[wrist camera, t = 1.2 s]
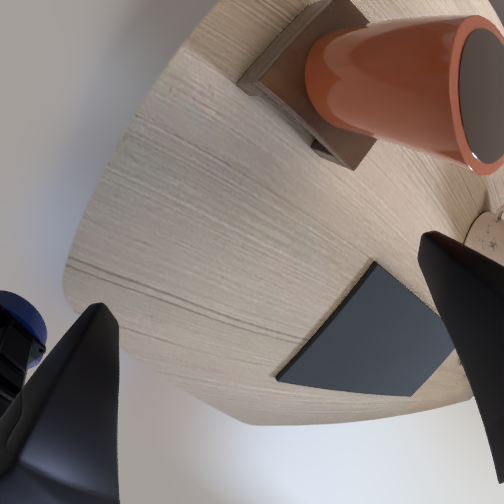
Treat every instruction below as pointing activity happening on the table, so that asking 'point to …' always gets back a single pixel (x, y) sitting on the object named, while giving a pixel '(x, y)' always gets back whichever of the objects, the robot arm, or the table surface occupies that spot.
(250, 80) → the brown square slab
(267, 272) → the table surface
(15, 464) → the robot arm
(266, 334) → the table surface
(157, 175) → the table surface
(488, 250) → the teacup with lid
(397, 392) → the desk mat
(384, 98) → the cup
